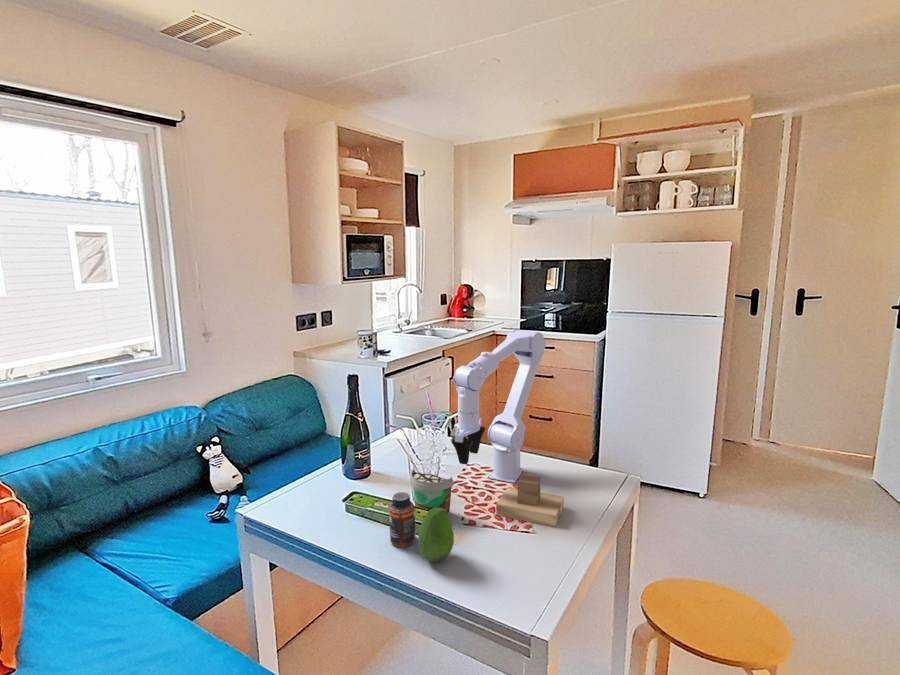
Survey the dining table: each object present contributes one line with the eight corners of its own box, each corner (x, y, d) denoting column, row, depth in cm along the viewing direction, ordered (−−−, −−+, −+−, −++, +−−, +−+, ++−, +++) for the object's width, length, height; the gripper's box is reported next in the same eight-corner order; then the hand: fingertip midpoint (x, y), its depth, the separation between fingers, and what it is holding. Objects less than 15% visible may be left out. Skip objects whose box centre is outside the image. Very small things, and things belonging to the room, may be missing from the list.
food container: (401, 513, 127) (399, 477, 125) (413, 502, 132) (412, 467, 131) (443, 525, 121) (442, 487, 120) (454, 513, 127) (454, 477, 125)
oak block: (508, 496, 135) (508, 486, 134) (563, 507, 129) (563, 496, 128) (496, 514, 126) (496, 504, 125) (555, 527, 120) (555, 515, 119)
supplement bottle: (420, 537, 117) (419, 492, 115) (407, 551, 111) (405, 504, 109) (398, 531, 119) (397, 487, 117) (385, 544, 114) (383, 499, 112)
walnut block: (521, 494, 130) (521, 472, 129) (540, 497, 128) (540, 475, 127) (517, 503, 125) (517, 481, 124) (537, 506, 124) (537, 484, 123)
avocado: (461, 561, 107) (460, 510, 105) (430, 574, 103) (428, 521, 101) (441, 543, 114) (440, 495, 112) (411, 555, 110) (410, 505, 108)
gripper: (464, 401, 141) (465, 446, 143) (443, 416, 128) (444, 466, 130) (488, 404, 138) (488, 449, 140) (469, 420, 125) (469, 470, 127)
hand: (468, 458), depth 135 cm, fingers open, 7 cm apart
